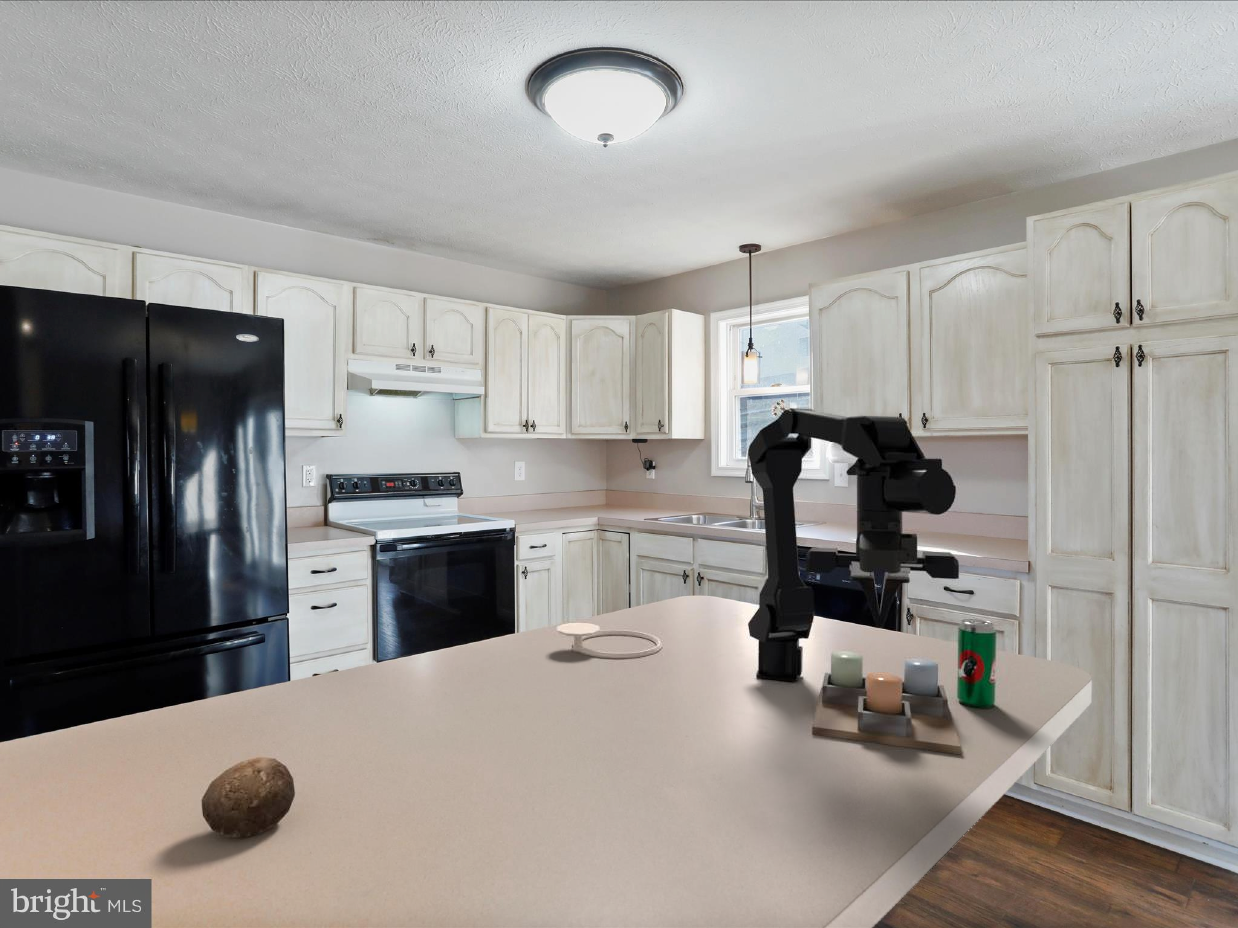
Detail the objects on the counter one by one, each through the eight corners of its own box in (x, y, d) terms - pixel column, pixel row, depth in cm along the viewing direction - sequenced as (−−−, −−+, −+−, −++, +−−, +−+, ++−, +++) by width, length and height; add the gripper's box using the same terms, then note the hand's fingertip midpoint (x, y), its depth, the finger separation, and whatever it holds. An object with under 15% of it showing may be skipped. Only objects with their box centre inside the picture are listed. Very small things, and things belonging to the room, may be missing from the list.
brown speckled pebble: (231, 768, 75) (237, 732, 72) (303, 794, 76) (313, 760, 73) (181, 840, 68) (186, 804, 65) (261, 868, 69) (270, 834, 66)
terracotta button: (866, 711, 93) (866, 681, 93) (866, 700, 97) (866, 671, 97) (902, 716, 91) (903, 685, 91) (901, 704, 95) (901, 674, 95)
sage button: (829, 685, 103) (830, 658, 103) (831, 676, 107) (831, 650, 107) (862, 689, 101) (862, 661, 101) (862, 679, 106) (862, 653, 105)
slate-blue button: (904, 694, 100) (905, 665, 99) (903, 684, 104) (903, 656, 104) (938, 697, 98) (939, 669, 98) (936, 688, 102) (936, 660, 102)
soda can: (999, 710, 102) (1001, 627, 102) (961, 707, 103) (963, 625, 103) (989, 698, 107) (990, 619, 107) (952, 695, 108) (954, 617, 108)
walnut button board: (812, 734, 93) (812, 708, 93) (820, 693, 109) (821, 671, 109) (960, 754, 87) (961, 726, 87) (947, 708, 103) (947, 685, 103)
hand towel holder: (678, 630, 130) (573, 642, 122) (678, 654, 131) (573, 667, 122) (638, 610, 146) (542, 619, 137) (637, 632, 146) (542, 642, 137)
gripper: (801, 512, 91) (802, 635, 91) (964, 515, 84) (964, 647, 84) (809, 507, 101) (809, 617, 101) (953, 510, 95) (954, 627, 95)
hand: (879, 627), depth 95 cm, fingers closed
